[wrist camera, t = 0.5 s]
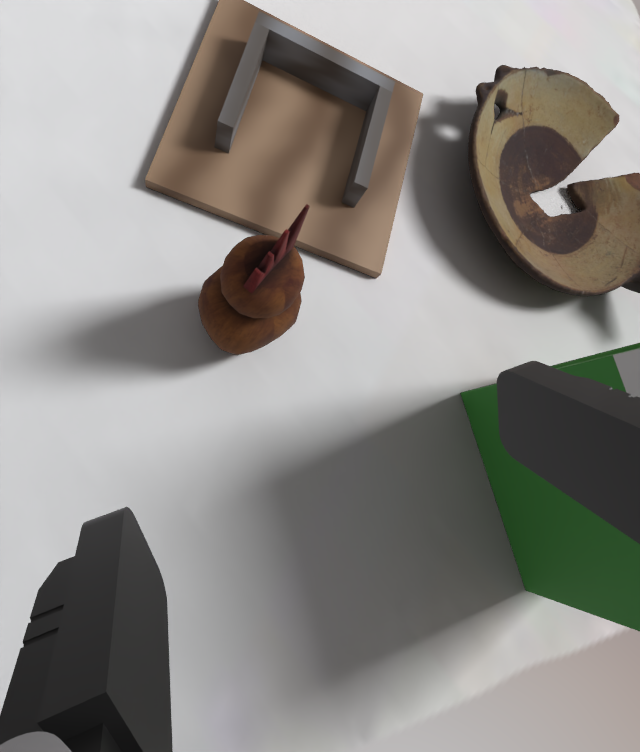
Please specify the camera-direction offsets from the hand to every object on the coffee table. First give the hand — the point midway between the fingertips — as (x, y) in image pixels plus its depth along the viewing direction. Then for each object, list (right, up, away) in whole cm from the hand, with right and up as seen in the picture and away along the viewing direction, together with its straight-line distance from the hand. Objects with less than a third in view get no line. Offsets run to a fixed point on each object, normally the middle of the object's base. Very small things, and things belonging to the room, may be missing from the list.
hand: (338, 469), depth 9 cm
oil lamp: (+23, +17, +38) cm, 48 cm away
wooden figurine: (-7, +6, +26) cm, 28 cm away
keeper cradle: (-2, +23, +31) cm, 38 cm away
